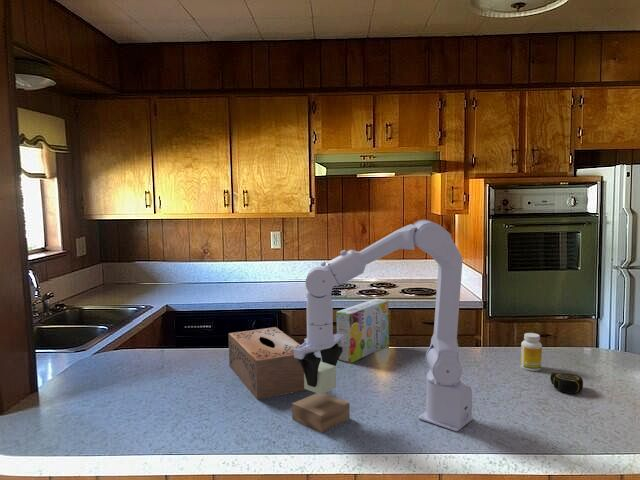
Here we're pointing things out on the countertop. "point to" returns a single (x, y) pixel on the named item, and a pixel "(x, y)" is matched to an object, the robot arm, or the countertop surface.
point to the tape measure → (567, 382)
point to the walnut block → (320, 411)
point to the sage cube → (323, 379)
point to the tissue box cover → (266, 362)
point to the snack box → (363, 329)
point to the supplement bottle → (531, 352)
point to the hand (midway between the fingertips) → (320, 381)
